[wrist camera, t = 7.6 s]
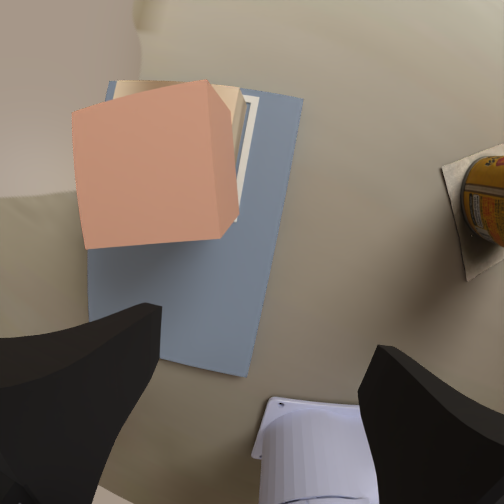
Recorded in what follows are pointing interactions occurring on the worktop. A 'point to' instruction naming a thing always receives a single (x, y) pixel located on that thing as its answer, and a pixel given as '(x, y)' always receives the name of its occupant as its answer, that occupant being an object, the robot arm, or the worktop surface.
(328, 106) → the worktop surface
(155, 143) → the terracotta block
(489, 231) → the condiment
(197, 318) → the board
